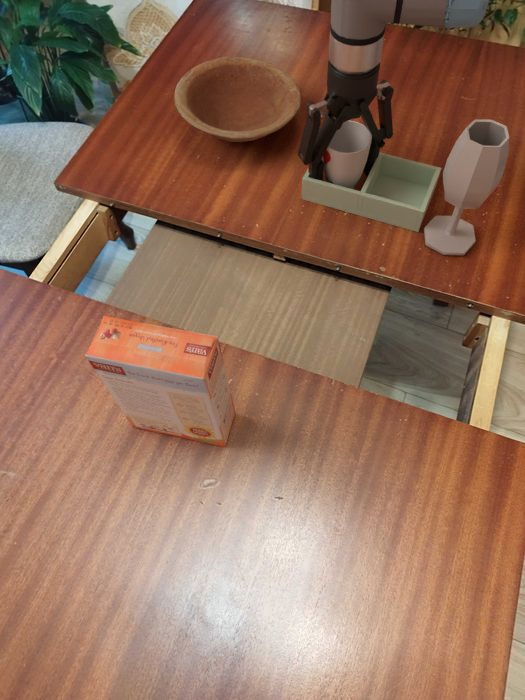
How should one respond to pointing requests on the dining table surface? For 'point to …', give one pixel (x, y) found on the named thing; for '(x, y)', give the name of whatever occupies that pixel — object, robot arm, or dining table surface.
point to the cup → (347, 154)
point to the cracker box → (165, 379)
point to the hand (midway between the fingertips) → (342, 180)
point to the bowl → (237, 98)
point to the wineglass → (468, 183)
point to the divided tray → (381, 192)
